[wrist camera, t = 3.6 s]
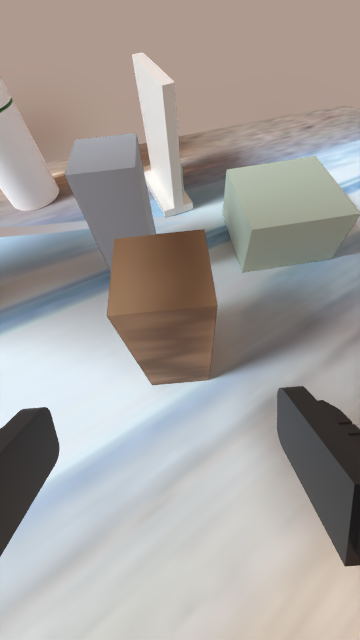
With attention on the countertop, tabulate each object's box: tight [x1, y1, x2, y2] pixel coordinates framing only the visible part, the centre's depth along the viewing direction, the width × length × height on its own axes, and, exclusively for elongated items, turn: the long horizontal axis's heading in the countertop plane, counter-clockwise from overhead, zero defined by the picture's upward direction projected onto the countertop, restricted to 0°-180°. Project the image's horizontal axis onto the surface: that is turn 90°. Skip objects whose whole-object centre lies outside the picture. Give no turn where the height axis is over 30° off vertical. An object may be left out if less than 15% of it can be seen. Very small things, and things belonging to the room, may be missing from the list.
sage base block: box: [223, 156, 360, 273], centre depth 27 cm, size 10×10×6 cm
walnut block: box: [107, 229, 218, 385], centre depth 17 cm, size 5×5×12 cm
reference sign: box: [132, 52, 193, 218], centre depth 29 cm, size 4×10×13 cm, turn 20°
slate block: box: [65, 133, 156, 271], centre depth 23 cm, size 5×5×12 cm
